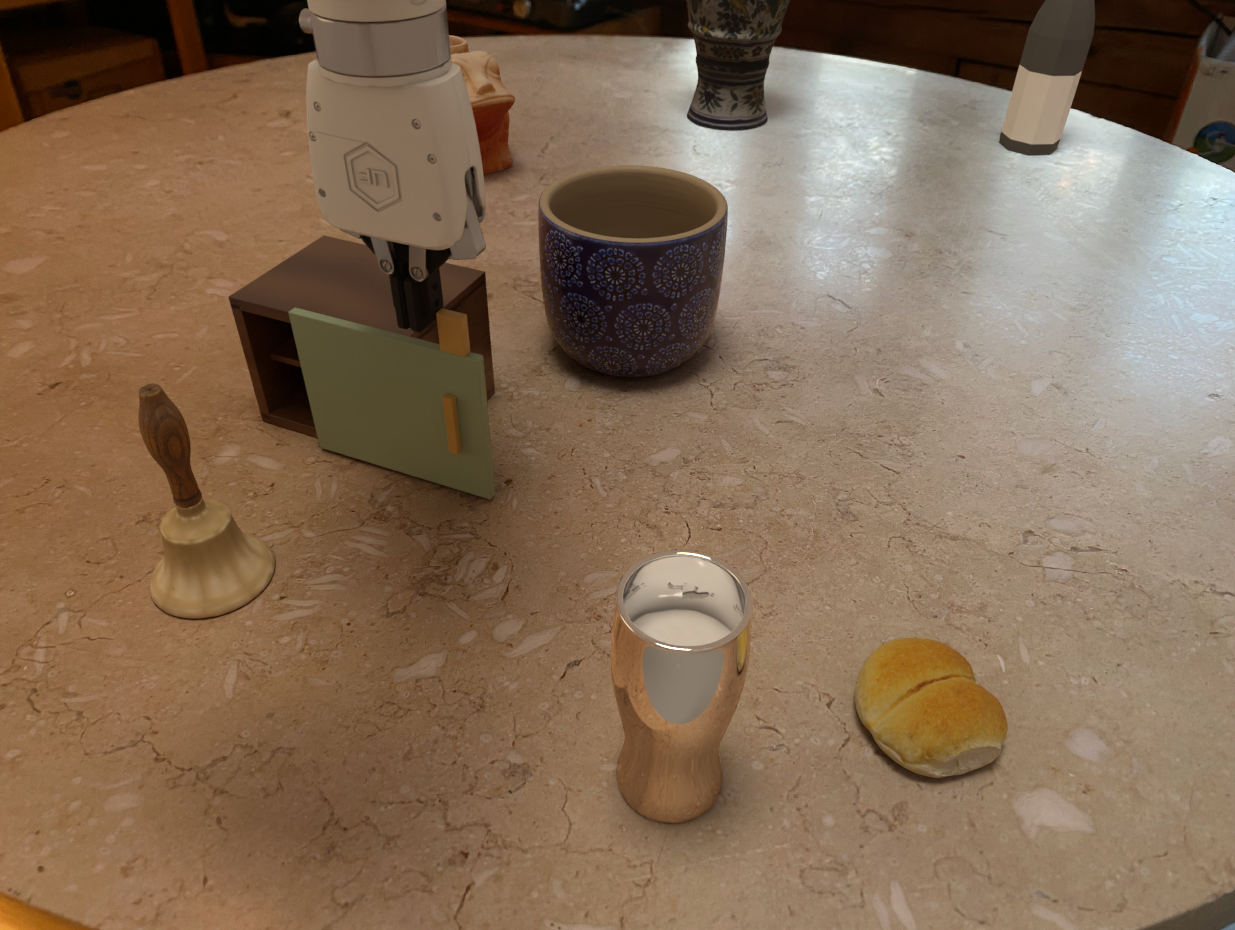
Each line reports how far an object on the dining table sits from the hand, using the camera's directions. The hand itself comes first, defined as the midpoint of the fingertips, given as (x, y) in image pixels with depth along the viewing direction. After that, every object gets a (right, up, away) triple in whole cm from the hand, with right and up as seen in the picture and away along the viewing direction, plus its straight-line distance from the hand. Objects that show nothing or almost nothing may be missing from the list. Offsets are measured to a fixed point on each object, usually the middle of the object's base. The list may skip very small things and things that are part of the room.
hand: (420, 320), depth 65 cm
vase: (+30, +43, +77) cm, 93 cm away
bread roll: (+32, -26, -7) cm, 42 cm away
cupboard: (-7, -5, +17) cm, 19 cm away
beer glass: (+17, -28, -11) cm, 34 cm away
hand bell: (-15, -18, +1) cm, 23 cm away
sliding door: (-3, -11, +10) cm, 15 cm away
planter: (+15, +1, +25) cm, 29 cm away
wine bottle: (+72, +36, +69) cm, 106 cm away
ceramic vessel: (-9, +32, +64) cm, 72 cm away
